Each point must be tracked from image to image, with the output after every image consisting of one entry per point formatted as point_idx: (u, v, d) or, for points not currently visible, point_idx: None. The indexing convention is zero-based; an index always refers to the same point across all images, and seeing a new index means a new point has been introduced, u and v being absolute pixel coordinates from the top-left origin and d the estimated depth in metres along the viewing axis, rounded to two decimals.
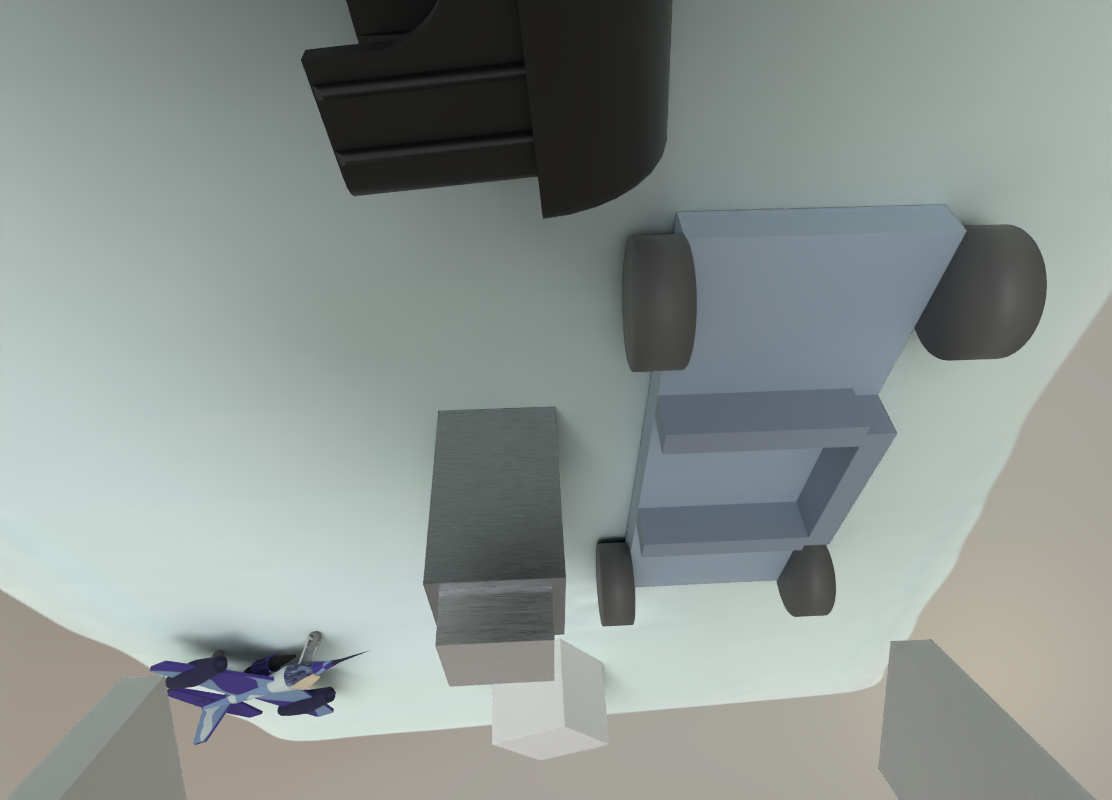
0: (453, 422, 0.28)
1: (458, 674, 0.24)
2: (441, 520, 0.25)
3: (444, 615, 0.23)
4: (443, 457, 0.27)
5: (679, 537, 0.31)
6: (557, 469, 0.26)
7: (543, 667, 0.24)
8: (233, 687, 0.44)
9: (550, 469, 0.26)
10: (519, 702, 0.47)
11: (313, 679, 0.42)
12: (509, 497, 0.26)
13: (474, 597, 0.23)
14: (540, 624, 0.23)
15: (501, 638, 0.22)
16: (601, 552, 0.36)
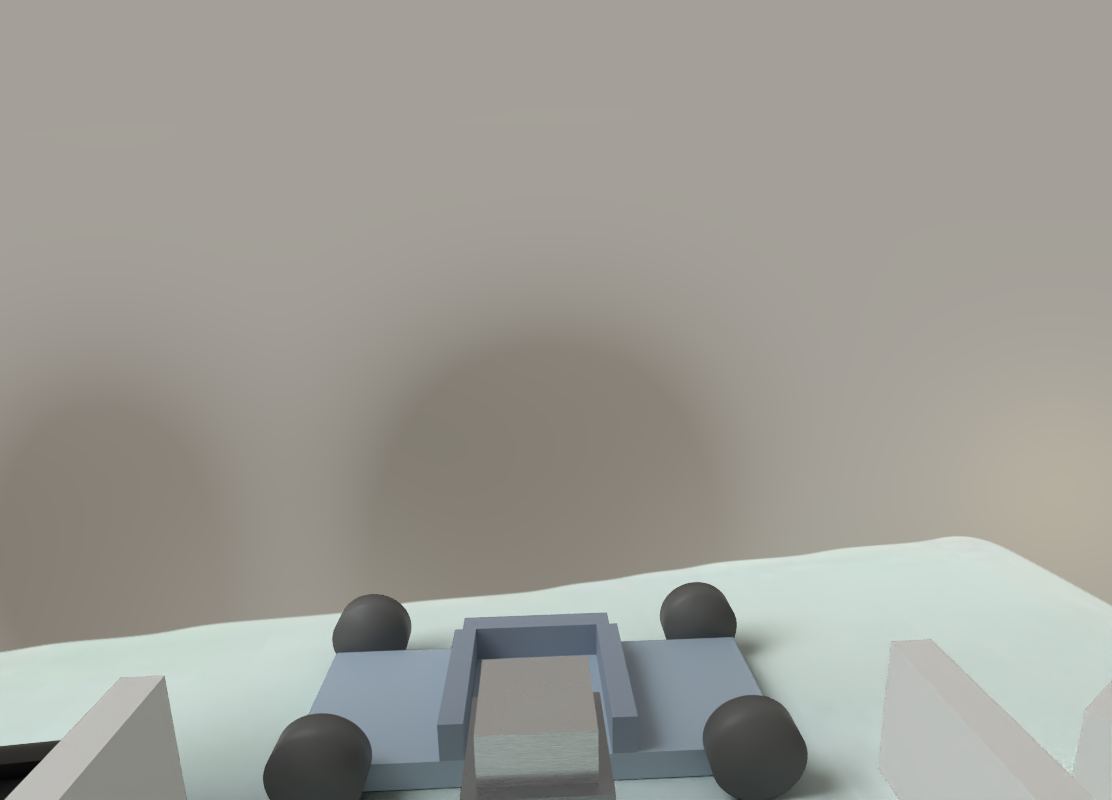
0: None
1: (560, 722, 0.22)
2: None
3: None
4: None
5: (609, 698, 0.33)
6: None
7: (547, 663, 0.25)
8: None
9: None
10: None
11: None
12: None
13: None
14: None
15: (478, 694, 0.23)
16: (714, 777, 0.30)
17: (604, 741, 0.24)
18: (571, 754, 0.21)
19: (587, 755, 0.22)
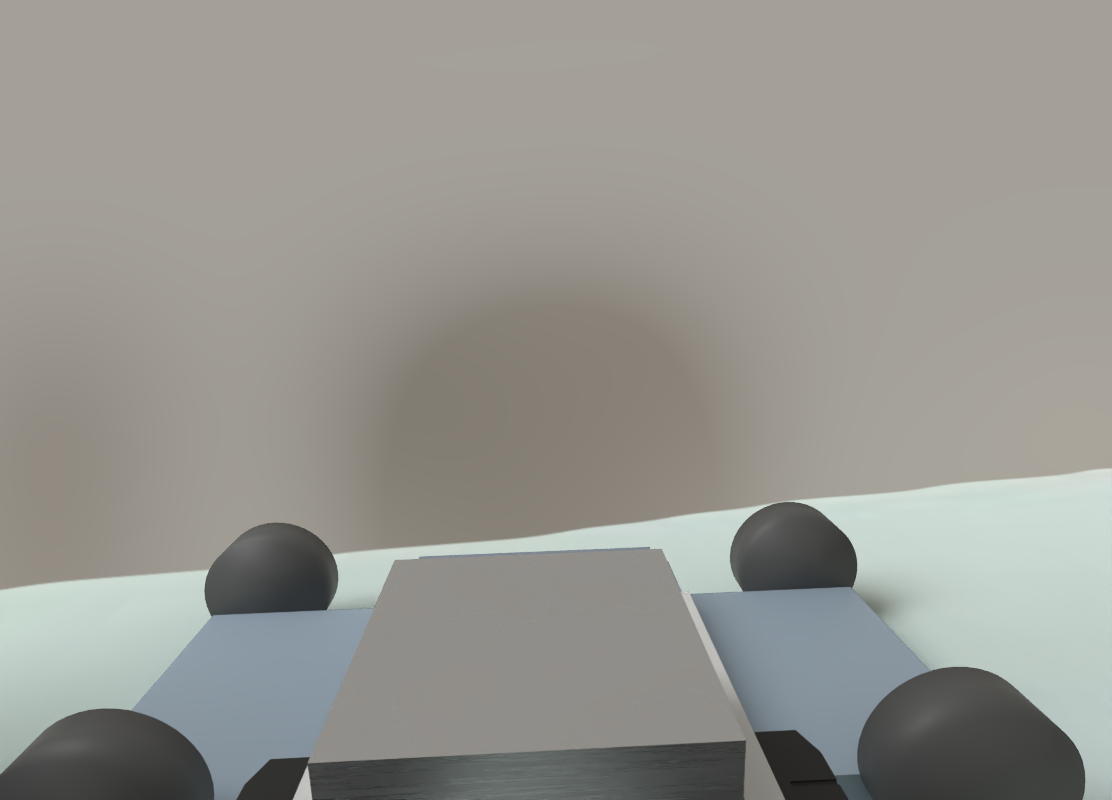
0: None
1: (609, 712, 0.07)
2: None
3: None
4: None
5: None
6: None
7: (561, 565, 0.10)
8: None
9: None
10: None
11: None
12: None
13: None
14: None
15: (367, 636, 0.08)
16: None
17: None
18: None
19: None
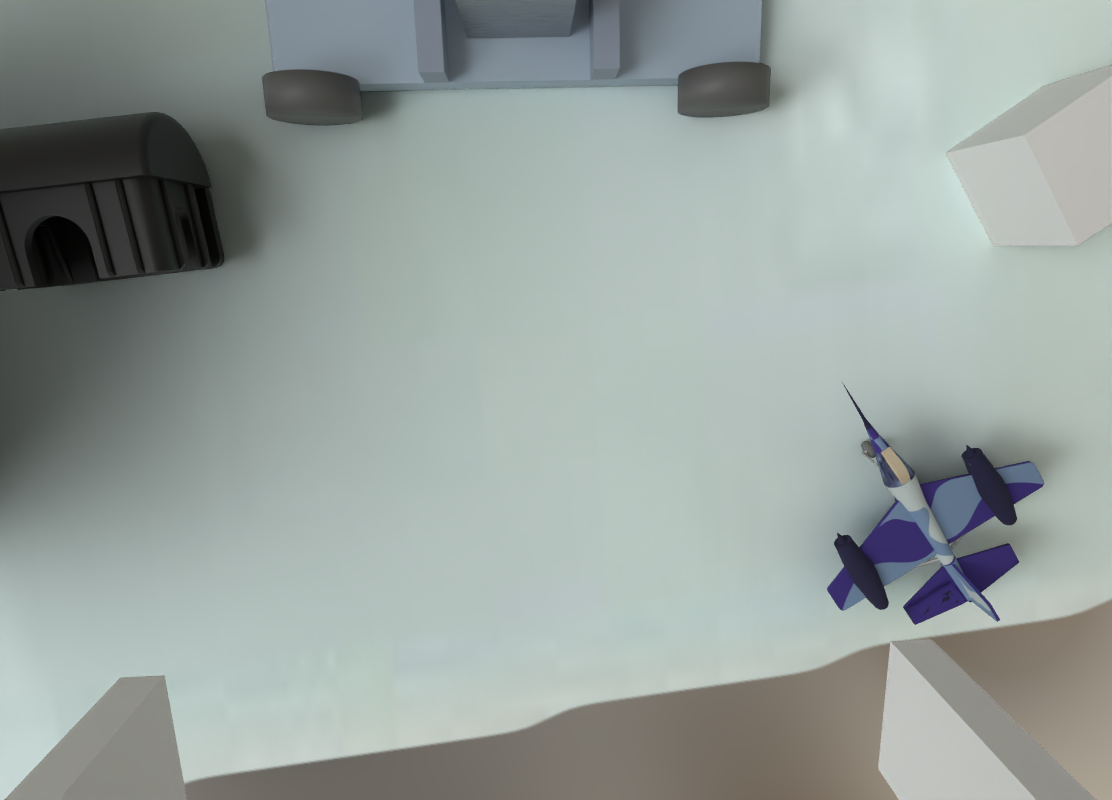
0: None
1: None
2: None
3: None
4: None
5: (593, 30, 0.31)
6: None
7: None
8: (909, 548, 0.38)
9: None
10: (1022, 206, 0.33)
11: (888, 454, 0.36)
12: None
13: None
14: None
15: None
16: (678, 111, 0.34)
17: None
18: None
19: None
